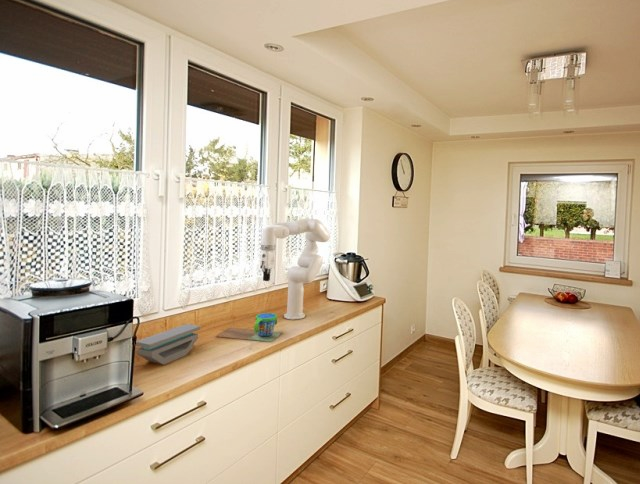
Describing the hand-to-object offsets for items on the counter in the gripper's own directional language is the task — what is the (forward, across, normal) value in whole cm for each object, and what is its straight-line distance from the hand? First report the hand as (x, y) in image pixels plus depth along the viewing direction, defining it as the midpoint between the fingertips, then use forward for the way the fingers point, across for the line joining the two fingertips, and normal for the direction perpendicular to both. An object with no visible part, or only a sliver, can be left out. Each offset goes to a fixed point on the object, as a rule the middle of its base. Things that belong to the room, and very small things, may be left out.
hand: (266, 280), depth 200 cm
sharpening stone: (+27, -45, +22) cm, 57 cm away
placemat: (+27, -11, +3) cm, 29 cm away
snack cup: (+27, -9, -5) cm, 29 cm away
